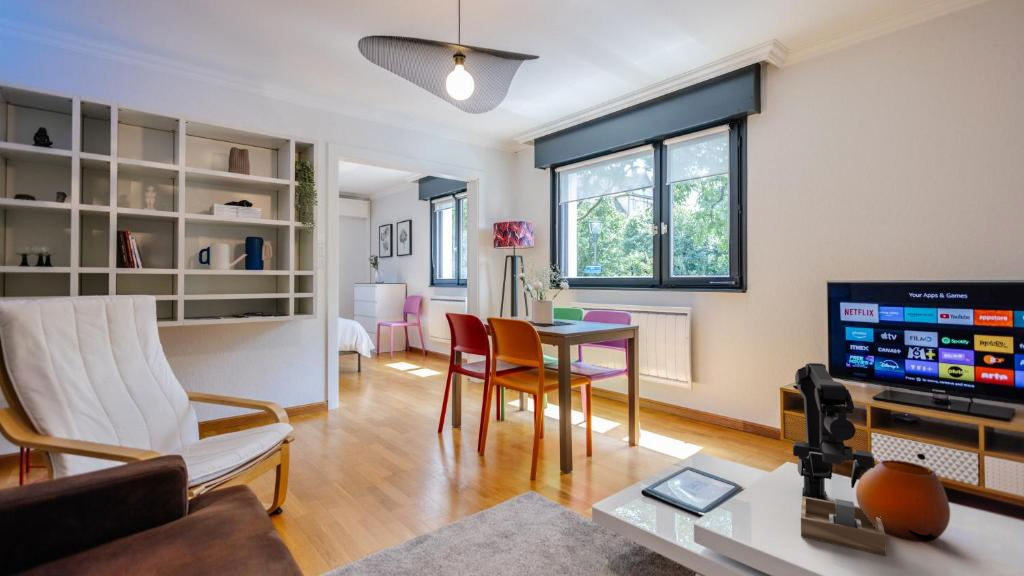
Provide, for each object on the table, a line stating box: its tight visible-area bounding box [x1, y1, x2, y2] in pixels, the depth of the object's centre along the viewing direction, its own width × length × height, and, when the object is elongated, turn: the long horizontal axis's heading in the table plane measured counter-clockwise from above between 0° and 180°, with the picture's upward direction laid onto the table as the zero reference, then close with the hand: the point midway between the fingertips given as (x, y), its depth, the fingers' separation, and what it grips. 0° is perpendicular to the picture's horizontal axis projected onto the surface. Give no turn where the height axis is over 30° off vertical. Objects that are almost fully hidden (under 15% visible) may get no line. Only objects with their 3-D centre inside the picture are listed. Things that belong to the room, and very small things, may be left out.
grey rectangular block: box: [834, 498, 855, 528], centre depth 128 cm, size 4×4×8 cm
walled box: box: [800, 495, 887, 557], centre depth 130 cm, size 16×18×5 cm
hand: (832, 484), depth 134 cm, fingers open, 9 cm apart
